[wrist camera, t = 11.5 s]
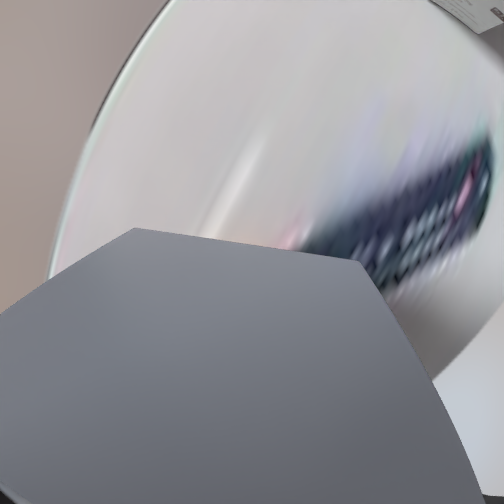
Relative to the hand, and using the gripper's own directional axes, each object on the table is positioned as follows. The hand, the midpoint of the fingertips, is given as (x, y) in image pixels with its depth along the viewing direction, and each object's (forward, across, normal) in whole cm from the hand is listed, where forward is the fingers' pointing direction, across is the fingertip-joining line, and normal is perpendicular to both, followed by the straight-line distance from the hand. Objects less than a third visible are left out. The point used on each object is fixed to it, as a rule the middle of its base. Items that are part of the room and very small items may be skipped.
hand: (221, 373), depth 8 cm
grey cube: (+2, 0, 0) cm, 2 cm away
